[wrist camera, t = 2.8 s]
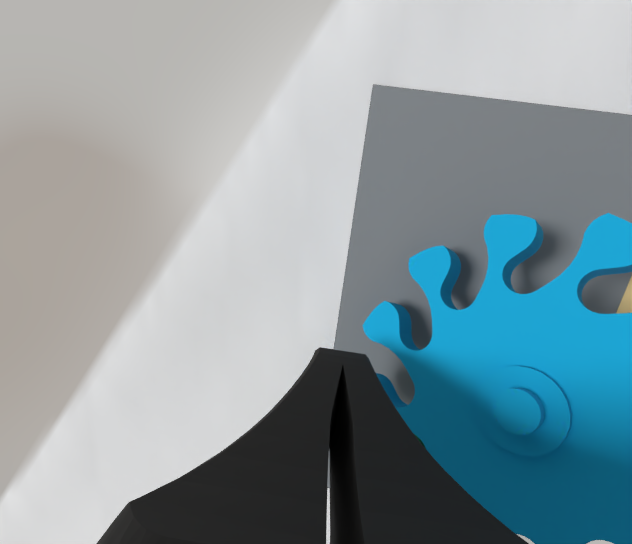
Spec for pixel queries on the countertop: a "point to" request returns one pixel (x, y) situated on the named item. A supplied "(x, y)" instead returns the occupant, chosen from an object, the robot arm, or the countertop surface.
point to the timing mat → (475, 203)
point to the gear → (525, 384)
